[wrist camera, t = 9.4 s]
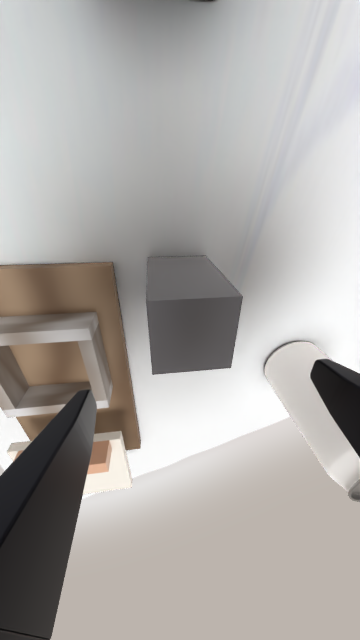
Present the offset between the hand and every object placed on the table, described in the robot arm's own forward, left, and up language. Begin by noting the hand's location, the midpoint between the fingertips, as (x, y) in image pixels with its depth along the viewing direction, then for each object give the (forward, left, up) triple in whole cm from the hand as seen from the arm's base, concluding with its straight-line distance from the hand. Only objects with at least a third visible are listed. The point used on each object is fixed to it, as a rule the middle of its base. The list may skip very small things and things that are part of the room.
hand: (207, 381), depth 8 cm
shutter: (+11, +19, -7) cm, 23 cm away
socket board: (+11, +10, -11) cm, 19 cm away
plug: (0, 0, -11) cm, 11 cm away
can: (-13, +10, -11) cm, 20 cm away
